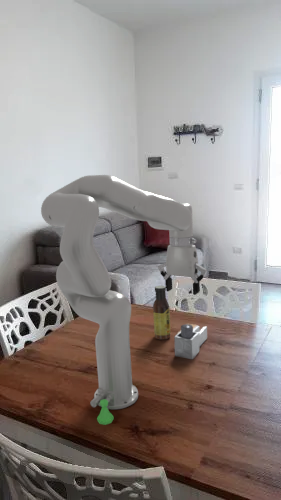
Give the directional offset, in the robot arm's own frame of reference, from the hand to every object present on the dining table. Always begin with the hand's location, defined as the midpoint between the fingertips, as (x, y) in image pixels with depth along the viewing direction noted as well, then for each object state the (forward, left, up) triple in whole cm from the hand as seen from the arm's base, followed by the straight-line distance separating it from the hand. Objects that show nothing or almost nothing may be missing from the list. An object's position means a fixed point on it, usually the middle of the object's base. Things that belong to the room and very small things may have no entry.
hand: (182, 291), depth 135 cm
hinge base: (+6, +1, -22) cm, 23 cm away
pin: (+1, -1, -22) cm, 22 cm away
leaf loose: (+10, -2, -22) cm, 25 cm away
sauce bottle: (+10, +13, -23) cm, 28 cm away
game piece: (-42, +4, -23) cm, 48 cm away
